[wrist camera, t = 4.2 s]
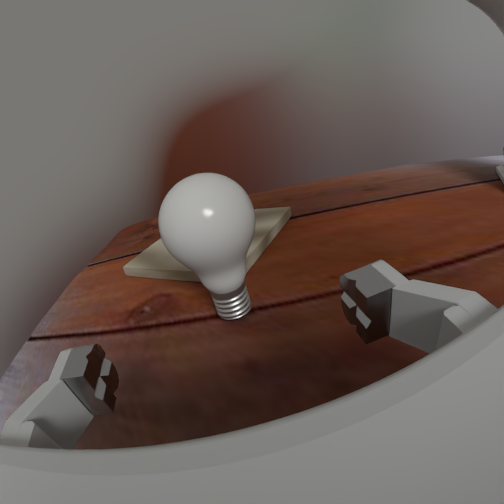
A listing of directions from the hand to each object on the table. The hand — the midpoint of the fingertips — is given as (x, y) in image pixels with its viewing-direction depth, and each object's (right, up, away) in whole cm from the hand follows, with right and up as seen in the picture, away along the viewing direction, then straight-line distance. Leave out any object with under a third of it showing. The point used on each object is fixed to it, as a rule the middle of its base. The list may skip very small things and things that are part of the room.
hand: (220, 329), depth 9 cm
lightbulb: (0, -3, +14) cm, 14 cm away
